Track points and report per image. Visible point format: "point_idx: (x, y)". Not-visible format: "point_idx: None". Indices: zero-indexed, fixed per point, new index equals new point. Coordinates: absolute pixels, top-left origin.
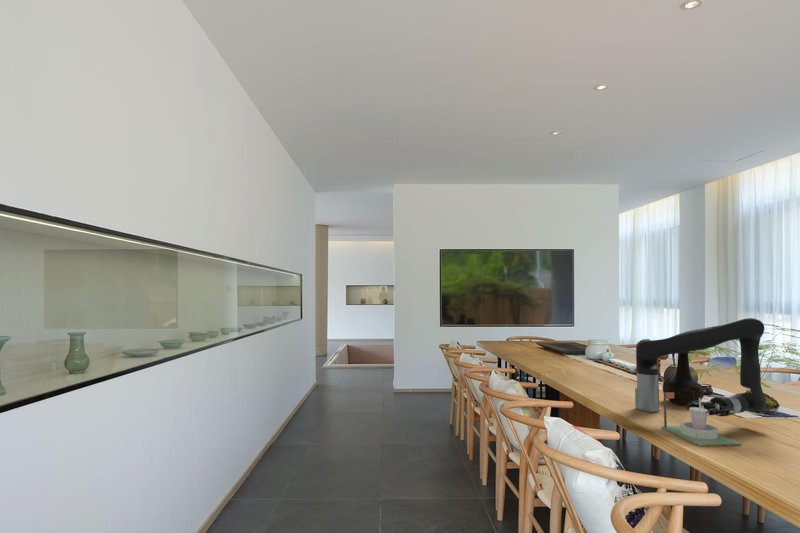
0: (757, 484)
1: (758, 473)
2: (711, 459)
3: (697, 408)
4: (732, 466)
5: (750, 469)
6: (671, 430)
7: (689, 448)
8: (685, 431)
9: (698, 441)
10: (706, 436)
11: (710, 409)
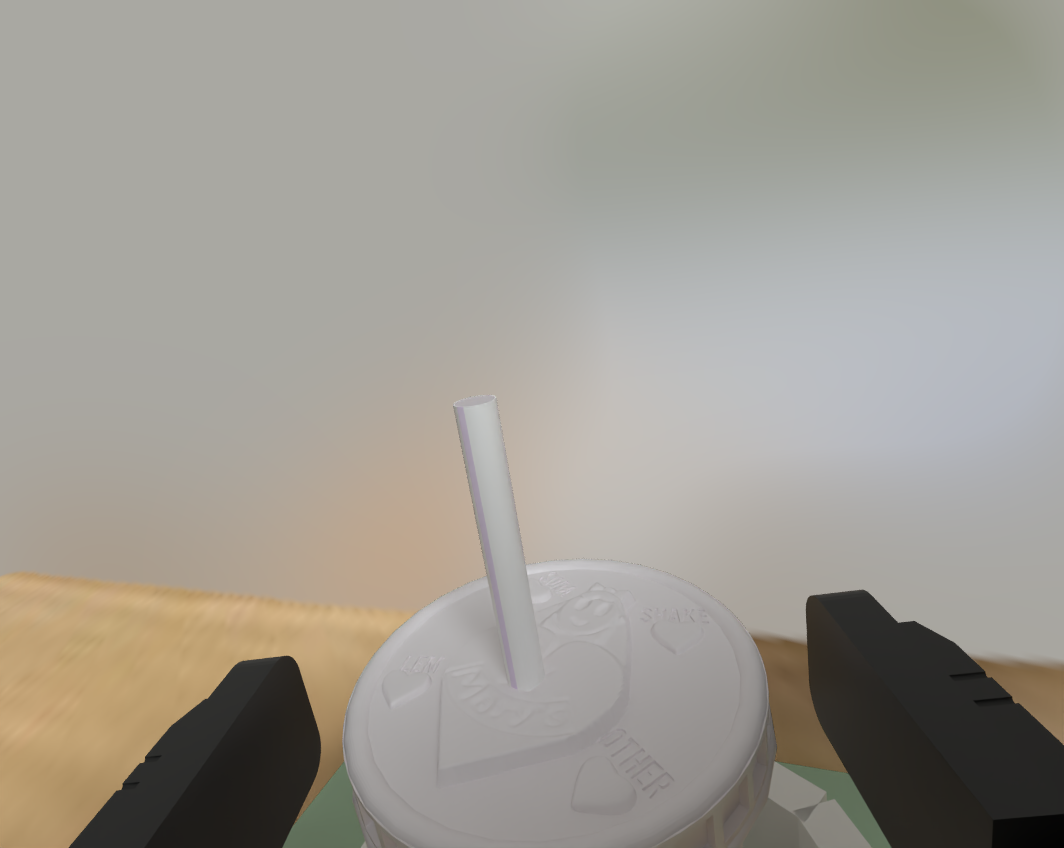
0: (78, 585)
1: (25, 663)
2: (270, 616)
3: (570, 645)
4: (158, 631)
5: (57, 671)
6: (850, 780)
7: None
8: None
9: None
10: None
11: (249, 670)
